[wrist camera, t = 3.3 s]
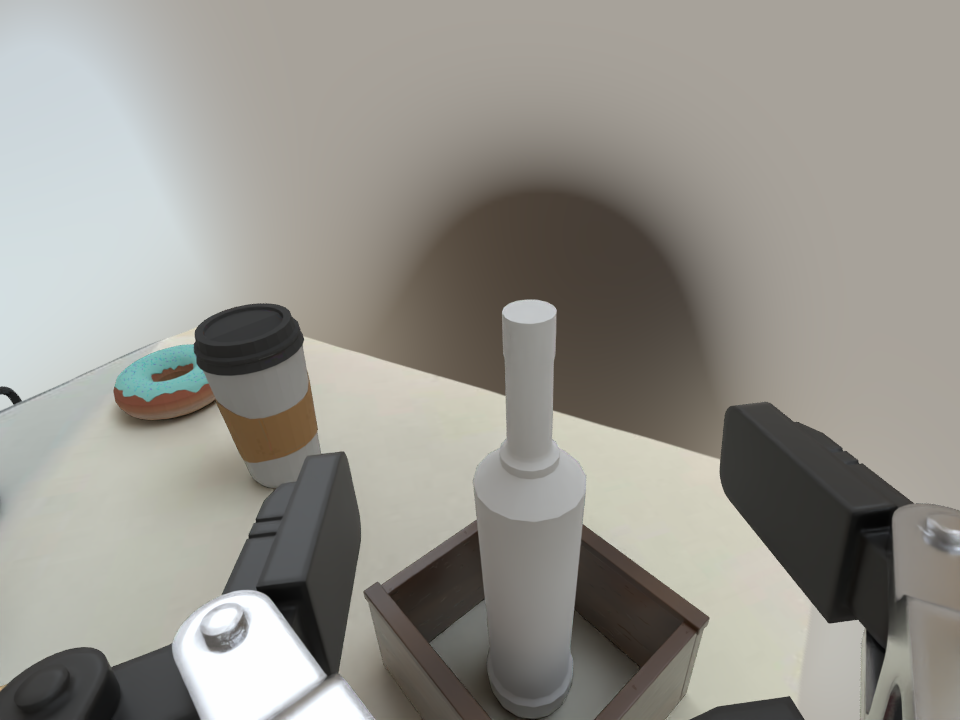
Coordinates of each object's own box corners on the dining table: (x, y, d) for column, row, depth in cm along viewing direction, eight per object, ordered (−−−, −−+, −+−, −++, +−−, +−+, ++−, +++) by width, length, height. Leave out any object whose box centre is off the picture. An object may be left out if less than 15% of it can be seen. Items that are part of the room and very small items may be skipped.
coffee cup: (350, 462, 52) (317, 319, 44) (267, 513, 47) (214, 362, 39) (303, 426, 57) (267, 292, 49) (224, 468, 52) (170, 326, 44)
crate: (380, 664, 35) (362, 591, 31) (525, 552, 42) (525, 481, 38) (536, 881, 26) (537, 815, 22) (689, 692, 33) (710, 617, 29)
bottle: (510, 739, 31) (495, 359, 18) (474, 657, 35) (441, 299, 22) (589, 699, 33) (628, 324, 20) (546, 625, 37) (555, 274, 24)
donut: (233, 412, 59) (222, 381, 57) (109, 438, 56) (93, 406, 54) (239, 359, 69) (230, 331, 67) (134, 379, 66) (121, 350, 64)
